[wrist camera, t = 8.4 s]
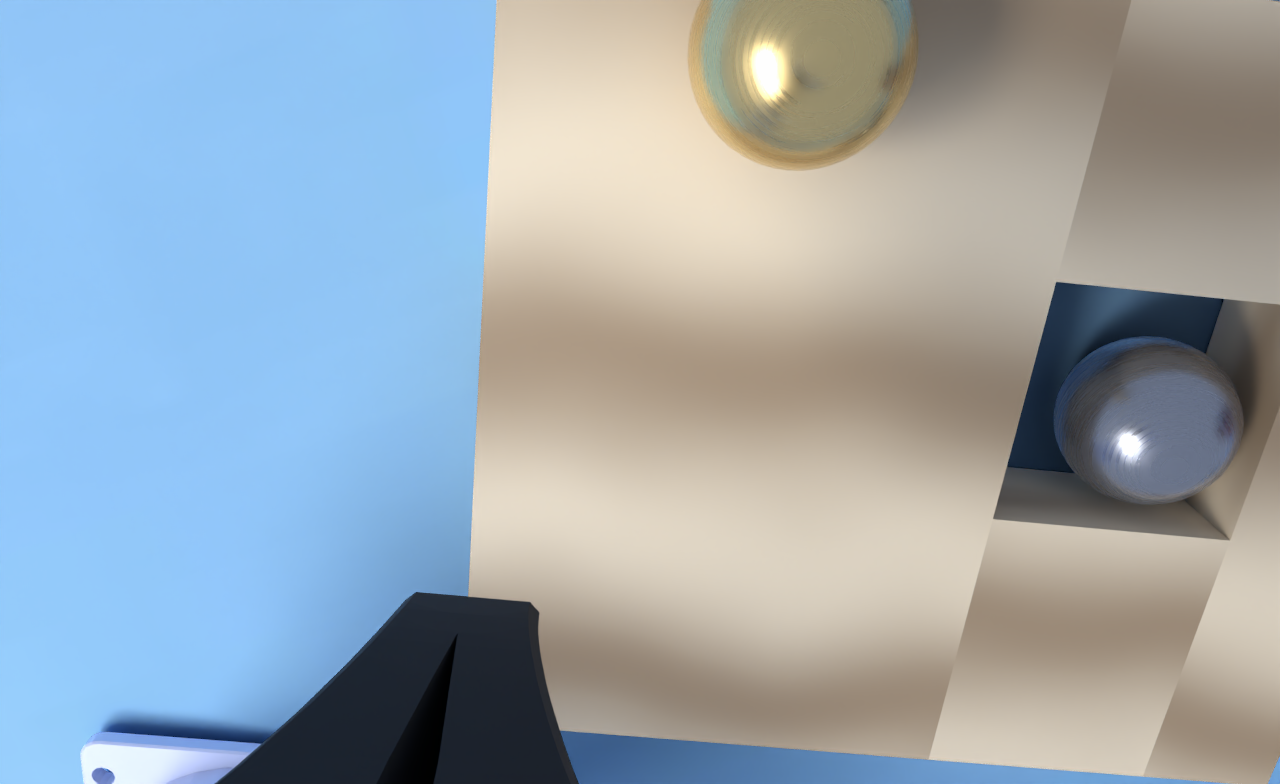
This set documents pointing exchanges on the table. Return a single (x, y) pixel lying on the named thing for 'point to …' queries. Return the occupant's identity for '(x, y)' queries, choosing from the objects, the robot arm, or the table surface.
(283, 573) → the table surface
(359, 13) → the table surface
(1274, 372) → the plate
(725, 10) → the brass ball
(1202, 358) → the steel ball
